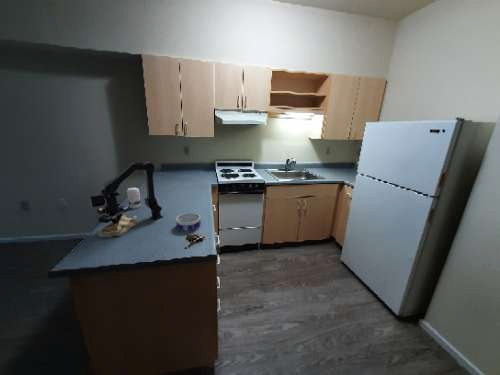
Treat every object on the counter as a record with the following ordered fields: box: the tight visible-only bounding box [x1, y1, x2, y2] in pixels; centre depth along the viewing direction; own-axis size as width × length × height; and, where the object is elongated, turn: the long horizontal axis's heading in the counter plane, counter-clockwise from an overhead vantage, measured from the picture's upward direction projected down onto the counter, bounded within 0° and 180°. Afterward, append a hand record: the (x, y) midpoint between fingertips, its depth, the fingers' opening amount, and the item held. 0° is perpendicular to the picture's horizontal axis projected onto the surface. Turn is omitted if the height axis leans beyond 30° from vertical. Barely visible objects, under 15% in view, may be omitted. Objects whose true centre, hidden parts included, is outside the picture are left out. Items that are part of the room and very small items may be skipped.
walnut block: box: [103, 222, 118, 232], centre depth 129 cm, size 6×4×4 cm, turn 173°
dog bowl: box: [175, 212, 202, 232], centre depth 140 cm, size 15×15×6 cm
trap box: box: [97, 214, 138, 238], centre depth 135 cm, size 24×12×3 cm, turn 173°
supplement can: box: [126, 187, 142, 209], centre depth 165 cm, size 8×8×15 cm
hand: (116, 226), depth 134 cm, fingers closed
